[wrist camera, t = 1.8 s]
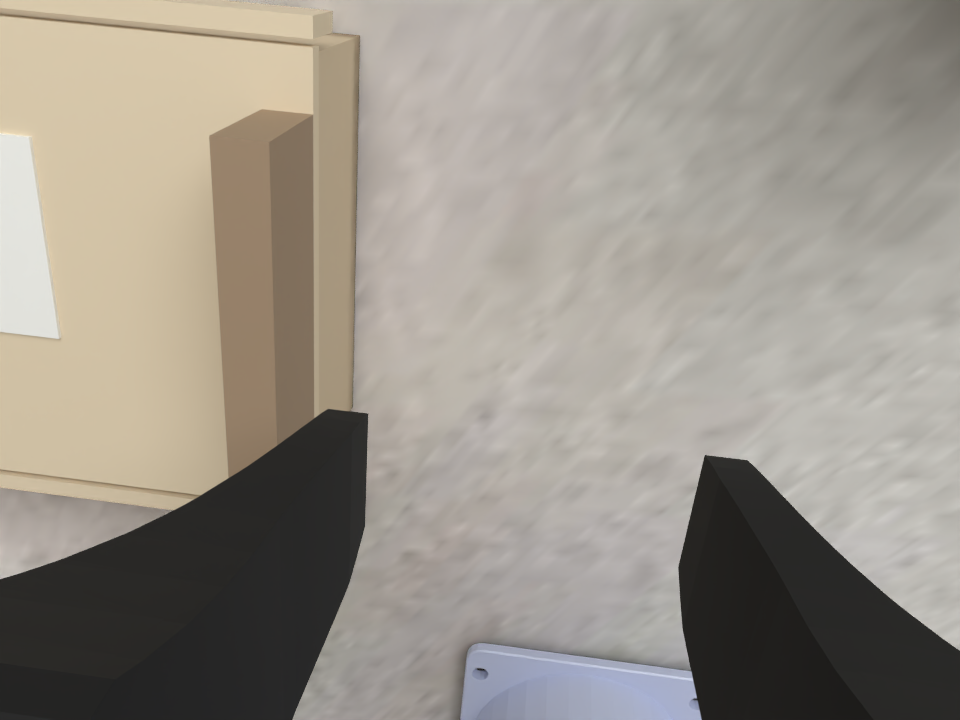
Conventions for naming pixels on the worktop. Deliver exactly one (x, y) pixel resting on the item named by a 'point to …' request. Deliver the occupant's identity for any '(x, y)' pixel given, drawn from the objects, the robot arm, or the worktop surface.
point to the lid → (155, 245)
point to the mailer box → (333, 193)
